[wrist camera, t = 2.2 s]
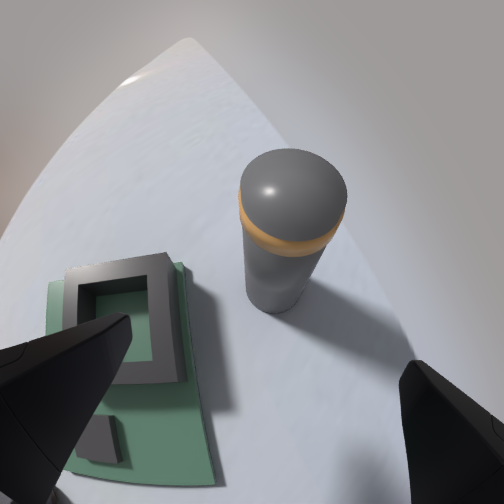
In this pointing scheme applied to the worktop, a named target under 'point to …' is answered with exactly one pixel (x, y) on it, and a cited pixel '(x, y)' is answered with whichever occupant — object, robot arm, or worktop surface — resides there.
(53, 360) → the robot arm
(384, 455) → the worktop surface
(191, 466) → the header board
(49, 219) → the worktop surface
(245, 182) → the plug
